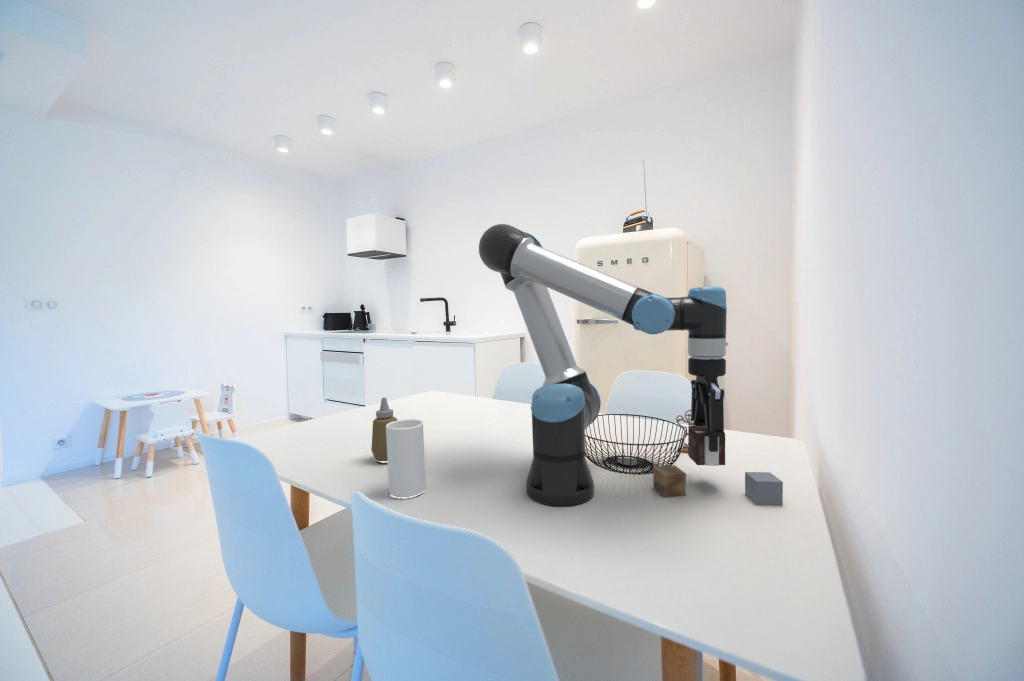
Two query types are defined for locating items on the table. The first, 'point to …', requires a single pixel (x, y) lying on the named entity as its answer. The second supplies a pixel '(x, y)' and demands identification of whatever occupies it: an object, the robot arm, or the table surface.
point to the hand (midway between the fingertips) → (706, 459)
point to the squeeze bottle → (381, 431)
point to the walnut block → (669, 481)
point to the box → (702, 445)
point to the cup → (405, 457)
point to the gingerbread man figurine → (685, 448)
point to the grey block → (764, 488)
